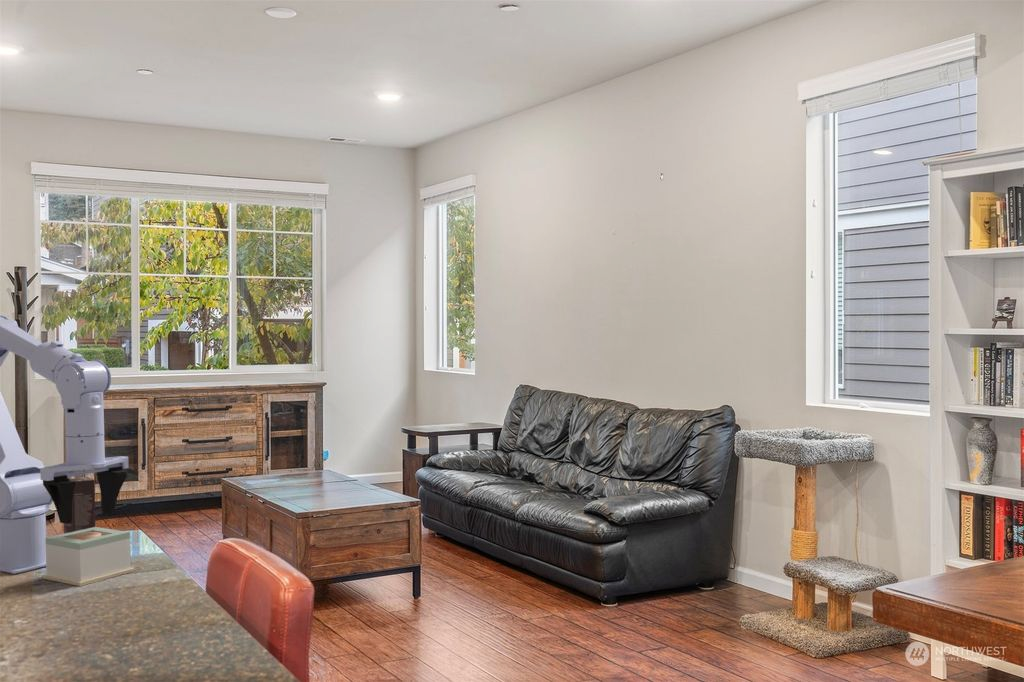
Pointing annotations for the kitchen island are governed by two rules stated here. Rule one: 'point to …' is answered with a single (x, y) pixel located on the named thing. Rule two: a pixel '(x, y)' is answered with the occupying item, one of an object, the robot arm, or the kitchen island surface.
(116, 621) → the kitchen island surface
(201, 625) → the kitchen island surface
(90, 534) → the peg
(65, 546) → the socket
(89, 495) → the box
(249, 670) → the kitchen island surface
